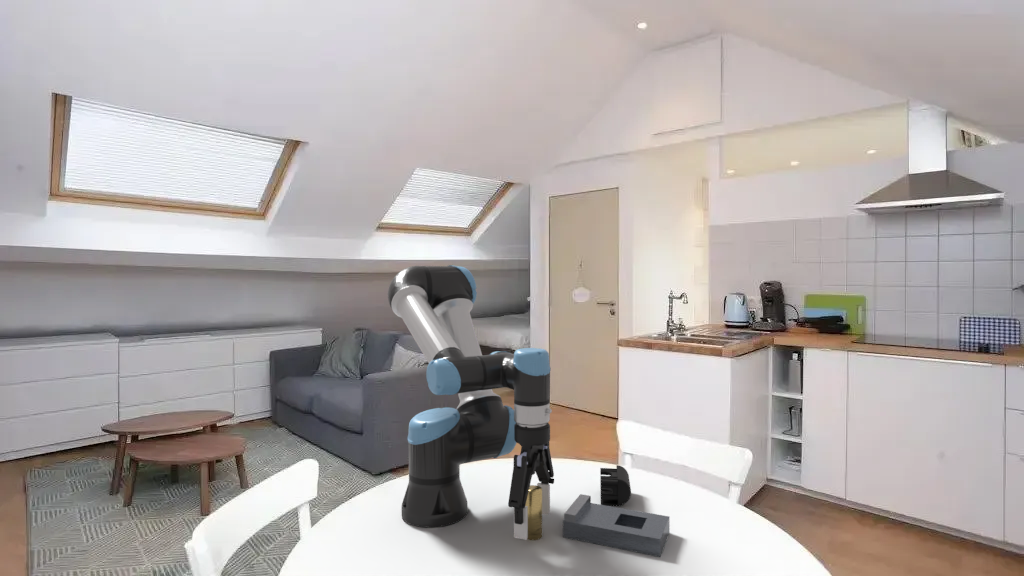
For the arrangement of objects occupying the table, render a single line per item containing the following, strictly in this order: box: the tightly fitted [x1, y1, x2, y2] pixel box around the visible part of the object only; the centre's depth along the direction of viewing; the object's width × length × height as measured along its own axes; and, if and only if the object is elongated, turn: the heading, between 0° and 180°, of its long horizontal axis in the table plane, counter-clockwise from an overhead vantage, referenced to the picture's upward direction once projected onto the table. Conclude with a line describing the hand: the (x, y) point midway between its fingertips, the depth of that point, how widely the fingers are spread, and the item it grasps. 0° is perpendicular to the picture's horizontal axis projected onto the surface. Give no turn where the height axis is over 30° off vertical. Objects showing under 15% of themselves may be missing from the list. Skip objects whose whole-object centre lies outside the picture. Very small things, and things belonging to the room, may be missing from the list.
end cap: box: [599, 465, 632, 507], centre depth 135 cm, size 10×7×7 cm
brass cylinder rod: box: [525, 484, 543, 541], centre depth 116 cm, size 4×4×10 cm
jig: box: [562, 493, 670, 558], centre depth 117 cm, size 20×11×5 cm, turn 65°
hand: (532, 525), depth 117 cm, fingers open, 12 cm apart
